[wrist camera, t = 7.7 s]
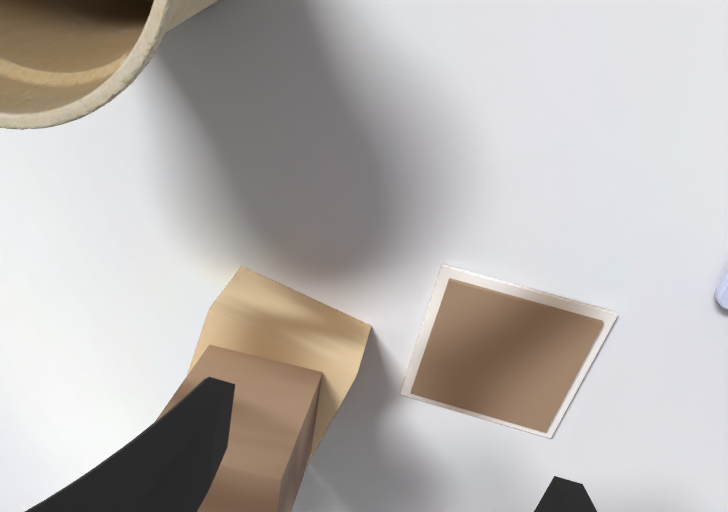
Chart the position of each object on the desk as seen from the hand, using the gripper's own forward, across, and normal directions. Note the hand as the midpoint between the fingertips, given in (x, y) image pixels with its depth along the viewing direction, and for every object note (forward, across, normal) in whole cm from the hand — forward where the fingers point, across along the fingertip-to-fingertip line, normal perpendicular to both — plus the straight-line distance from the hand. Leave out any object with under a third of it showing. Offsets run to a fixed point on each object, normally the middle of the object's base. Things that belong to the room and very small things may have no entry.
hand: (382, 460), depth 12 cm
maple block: (+11, +4, +7) cm, 13 cm away
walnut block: (+7, +4, +7) cm, 11 cm away
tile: (+10, -4, +4) cm, 12 cm away
